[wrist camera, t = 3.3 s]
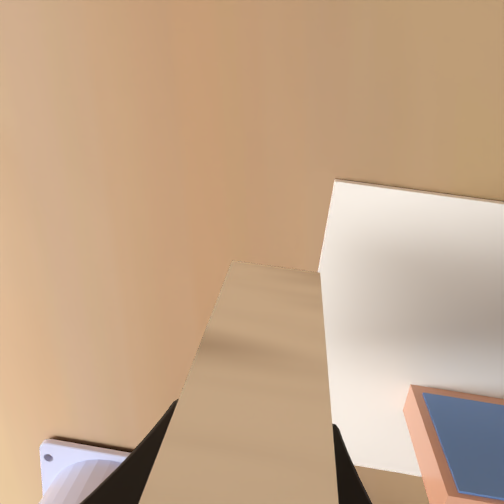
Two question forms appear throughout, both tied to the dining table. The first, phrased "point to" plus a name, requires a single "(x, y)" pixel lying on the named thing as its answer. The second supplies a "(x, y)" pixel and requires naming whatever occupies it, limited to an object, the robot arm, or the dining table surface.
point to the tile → (457, 444)
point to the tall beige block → (254, 400)
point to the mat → (408, 309)
